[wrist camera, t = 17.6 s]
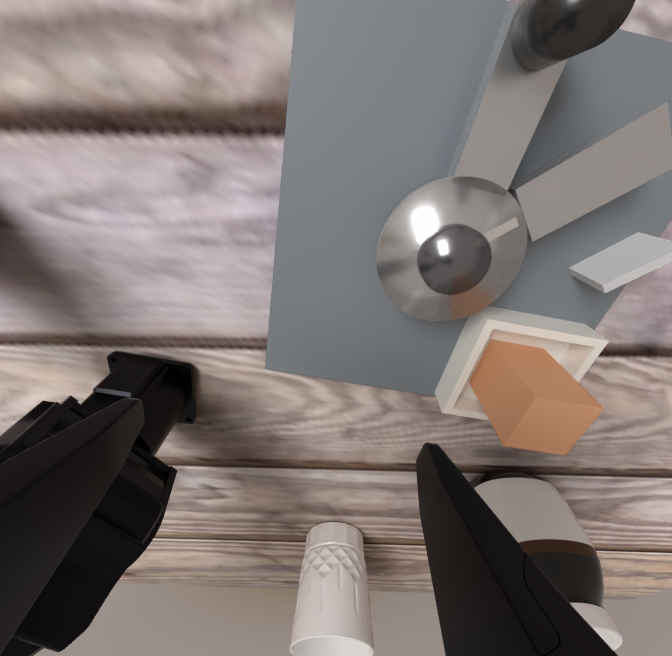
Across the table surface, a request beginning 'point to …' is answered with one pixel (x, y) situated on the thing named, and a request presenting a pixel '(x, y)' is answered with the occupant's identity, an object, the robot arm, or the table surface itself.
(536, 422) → the block
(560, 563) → the spread jar
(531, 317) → the tray
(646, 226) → the faceplate
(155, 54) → the table surface
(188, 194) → the table surface
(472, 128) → the crank wheel
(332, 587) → the white cup
